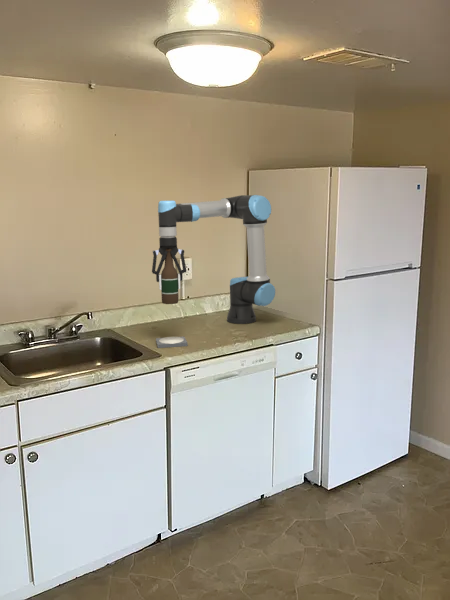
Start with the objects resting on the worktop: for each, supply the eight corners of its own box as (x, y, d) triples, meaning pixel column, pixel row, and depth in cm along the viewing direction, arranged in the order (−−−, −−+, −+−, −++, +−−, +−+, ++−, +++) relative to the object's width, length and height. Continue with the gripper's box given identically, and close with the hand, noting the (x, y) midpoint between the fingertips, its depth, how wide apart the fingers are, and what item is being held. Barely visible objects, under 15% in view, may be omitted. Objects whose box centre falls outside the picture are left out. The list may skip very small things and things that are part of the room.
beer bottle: (164, 305, 240) (162, 249, 235) (159, 301, 247) (157, 248, 242) (181, 303, 243) (179, 248, 239) (175, 300, 250) (174, 247, 246)
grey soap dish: (184, 339, 255) (184, 336, 255) (187, 346, 245) (187, 342, 244) (156, 341, 253) (155, 337, 253) (157, 348, 242) (157, 344, 242)
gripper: (190, 235, 245) (191, 286, 250) (143, 236, 241) (145, 288, 246) (192, 236, 238) (194, 289, 242) (144, 238, 234) (146, 291, 238)
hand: (169, 288), depth 244 cm, fingers closed on beer bottle, 8 cm apart
